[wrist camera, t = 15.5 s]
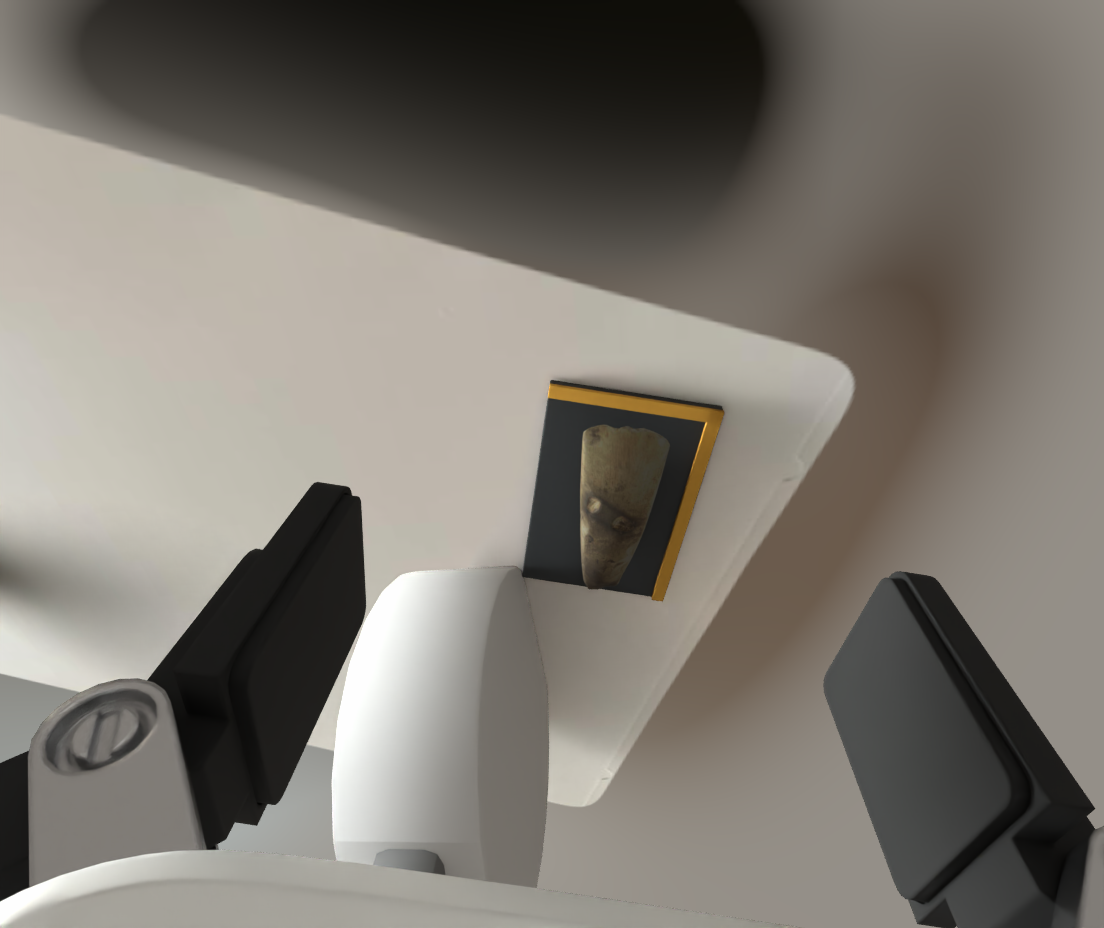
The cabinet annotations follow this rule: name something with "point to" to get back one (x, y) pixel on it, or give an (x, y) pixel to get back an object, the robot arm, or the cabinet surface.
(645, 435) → the stone
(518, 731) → the alarm clock
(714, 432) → the corner mat
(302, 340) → the cabinet surface
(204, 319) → the cabinet surface
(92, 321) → the cabinet surface
